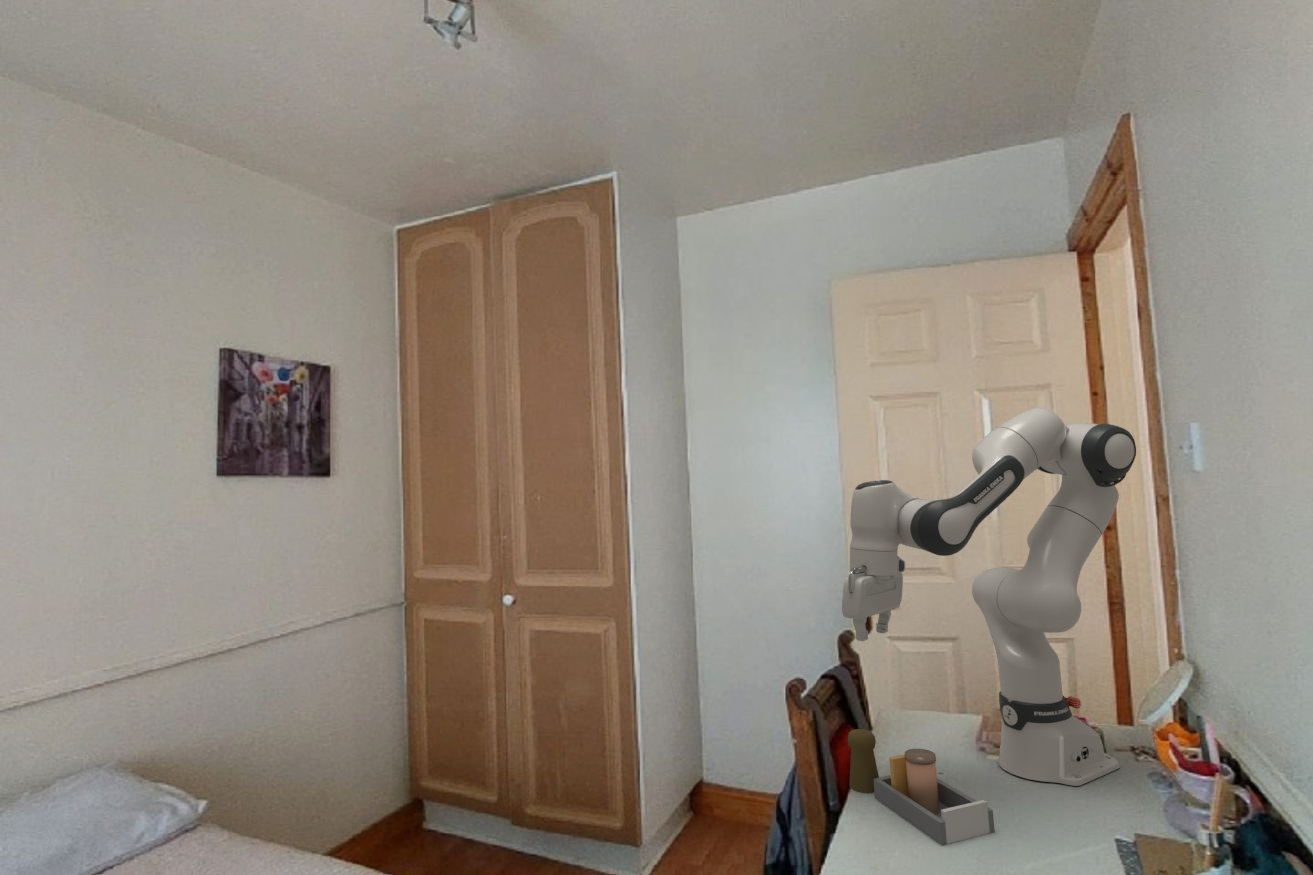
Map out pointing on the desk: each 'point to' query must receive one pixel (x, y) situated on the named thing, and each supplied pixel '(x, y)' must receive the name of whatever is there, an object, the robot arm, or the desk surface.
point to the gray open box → (955, 816)
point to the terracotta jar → (922, 778)
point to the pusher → (899, 774)
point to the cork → (862, 761)
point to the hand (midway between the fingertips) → (872, 636)
